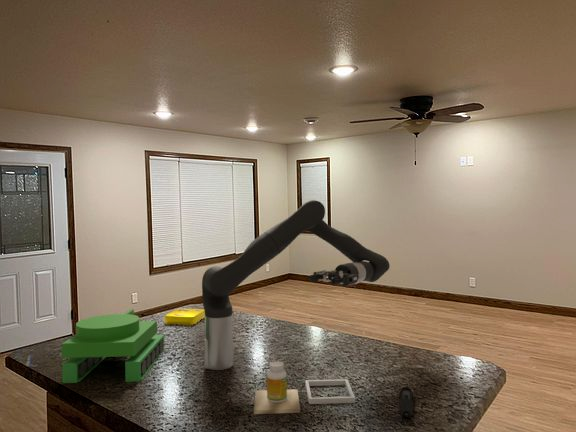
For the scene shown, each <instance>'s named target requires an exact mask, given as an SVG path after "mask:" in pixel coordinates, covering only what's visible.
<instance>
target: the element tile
mask: <svg viewBox="0 0 576 432" xmlns="http://www.w3.org/2000/svg"><path fill="white" fill-rule="evenodd" d="M204 317H205V310H204V308H203V309H201V308H184V307H180V308H176V309H173V311H172V310H171V311H170V312H168V313H166V314H165V315H164V325H170V324H182V325H181V326H194V325H193V324H195V325H197V324H198V323H200V322H201V321H202V320H201V319H203V318H204ZM204 319H205V318H204ZM204 319H203V320H204ZM200 320H201V321H200ZM199 321H200V322H199ZM197 322H198V323H197ZM196 323H197V324H196Z"/></svg>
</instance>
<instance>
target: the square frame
mask: <svg viewBox="0 0 576 432" xmlns="http://www.w3.org/2000/svg"><path fill="white" fill-rule="evenodd" d="M304 382H305V383H304V385H305V389H306V395H307V400H308V405H318V404H319V405H321V404H322V405H324V404H325V405H327V404H355V403H356V395H355V394H354V392H353V389H352V387H351V385H350V383H349V380H348V378H345V379H344V378H341V379H308V380H307V379H305V381H304ZM316 386H317V387H318V386H322V387H323V386H325V387H326V386H345V389H346V391H347V393H348V396H325V397H324V396H323V397H322V396H321V397H320V396H319V397H317V396H316V397H312V393H311V388H310V387H316Z"/></svg>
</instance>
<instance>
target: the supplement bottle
mask: <svg viewBox="0 0 576 432" xmlns="http://www.w3.org/2000/svg"><path fill="white" fill-rule="evenodd" d="M268 367H269V370H268V371H267V373H266V390H267V399H268V401H270V402H273V403H280V402H284V401H285V400H286V399H287V390H288V389H287V387H288V380H287V379H288V378H287V376H288V375H287V372H286V370H284V369H285V364H284V362H283V361H276V360H274V361H271V362H269V366H268Z"/></svg>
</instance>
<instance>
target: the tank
mask: <svg viewBox="0 0 576 432" xmlns="http://www.w3.org/2000/svg"><path fill="white" fill-rule="evenodd" d="M133 313H135V309H134V308H131V309H129V310H127V311H126V312H124V313H114V314H113V313H112V314H111V313H110V314H103V315H96V316H91V317H86V318H83V319H81V320H78V321H77V322H76V323H75V335H74V336H72V337H70V338H69V339H67V340H65V341H64V342H62V343H61V358H62V359H65V358H67V360H65V361H64V362H62V363H61V369H62V370H61V371H62V372H61V376H62V377H61V378H62V379H61V382H62V384H77V383H79V382H82V380H83V379H84V378H86V376H88V375H90V373H91V372H92V371H93V370H94V369H95V368H96V367H97V366H98V365H99V364H100V363H101V362H102V361H103V360H104V359H106V358H110V357H113V358H114V357H115V358H116V357H117V358H118V357H121V358H122V357H129V358H128V359H127V360H126V361H125V362H124V365H125V366H124V368H125V369H124V370H125V375H124V376H125V382H128V383H129V382H131V383H133V382H142V381H143V380H144V379H145V377H146V376H147V374H148V373H149V372H150V370H151V369H152V368H153V366H154V365H155V363H156V362H157V361H158V359H159V358H160V356H161V355H162V353H163V352H164V351H165V334H157V333H158V321H157V320H144V321H143V320H140V316H139V315H135V314H133Z"/></svg>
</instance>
